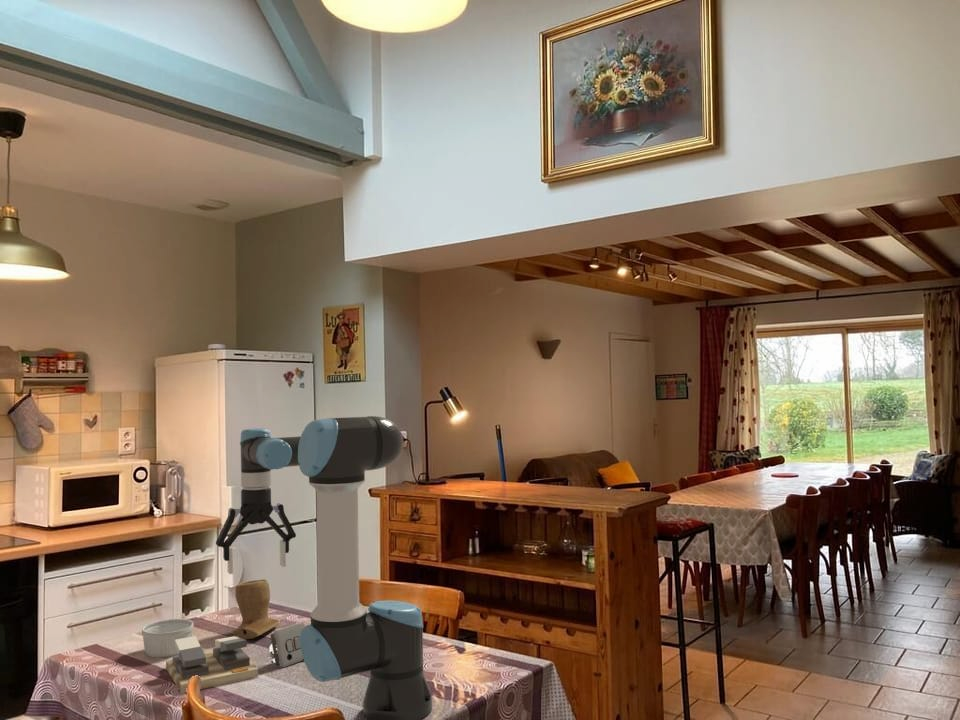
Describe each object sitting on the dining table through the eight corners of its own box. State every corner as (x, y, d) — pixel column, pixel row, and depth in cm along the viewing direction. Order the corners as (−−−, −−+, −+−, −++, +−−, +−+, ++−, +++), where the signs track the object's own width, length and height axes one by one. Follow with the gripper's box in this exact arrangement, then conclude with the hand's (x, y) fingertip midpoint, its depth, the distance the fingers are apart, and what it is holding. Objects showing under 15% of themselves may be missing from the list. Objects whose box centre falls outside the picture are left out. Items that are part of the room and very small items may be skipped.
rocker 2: (247, 650, 196) (246, 640, 196) (226, 654, 193) (226, 644, 194) (235, 645, 206) (234, 636, 206) (215, 649, 203) (215, 639, 204)
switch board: (257, 676, 193) (257, 660, 193) (181, 693, 184) (181, 676, 184) (236, 654, 210) (236, 639, 210) (165, 668, 201) (165, 652, 201)
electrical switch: (282, 669, 198) (279, 631, 199) (269, 666, 201) (267, 630, 202) (311, 658, 206) (308, 622, 206) (299, 656, 209) (296, 621, 210)
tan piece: (249, 623, 237) (248, 574, 238) (284, 625, 234) (284, 575, 235) (221, 639, 222) (220, 587, 223) (258, 642, 220) (257, 588, 220)
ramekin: (202, 643, 220) (201, 618, 220) (179, 659, 207) (179, 633, 207) (157, 643, 221) (157, 618, 221) (132, 659, 208) (132, 633, 208)
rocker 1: (205, 666, 191) (206, 657, 190) (184, 670, 188) (184, 661, 188) (195, 644, 201) (195, 636, 201) (174, 648, 198) (175, 639, 198)
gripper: (298, 482, 214) (299, 560, 213) (203, 490, 201) (204, 573, 200) (307, 485, 207) (308, 565, 207) (209, 493, 194) (210, 579, 194)
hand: (256, 569), depth 203 cm, fingers open, 13 cm apart
